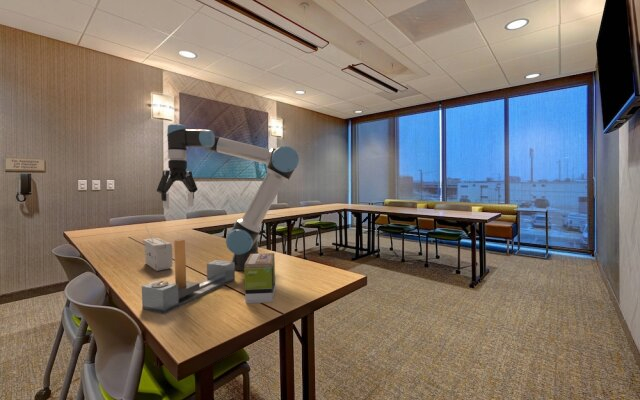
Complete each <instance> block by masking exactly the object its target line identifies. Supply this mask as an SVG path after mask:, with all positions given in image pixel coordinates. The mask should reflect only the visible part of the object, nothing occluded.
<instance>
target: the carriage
mask: <svg viewBox="0 0 640 400" xmlns="http://www.w3.org/2000/svg"><path fill="white" fill-rule="evenodd" d="M173 246H174V247H173V249H174V276H175V277H174V278H175V279H174V280H175V281H174V284H178V298H181V297H184V296H186V295H188V294H190V293H193V292H195V291H197V290H199V289H200V283H198V282H196V281H195V282H194V281H188V280H187V267H186V266H187V264H186V263H187V262H186V261H187V259H186V239H176V240H174V241H173Z"/></svg>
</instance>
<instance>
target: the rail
mask: <svg viewBox="0 0 640 400" xmlns="http://www.w3.org/2000/svg"><path fill="white" fill-rule="evenodd" d="M235 272H236V270H235V262H232V261H228V260H227V261H226V260H219V259H215V260H212V261H210V262H207V263H206V278H205V279H203V280H201V281H198V282H197V283H200V289H199V290H197V291H195V292H193V293H190V294H188V295H186V296H184V297H181V298H178V284H175V283H172V282H169V281H168V280H156V281H152V282H149V283H147V284H144V285H142V286H141V302H142V307H141V308H142V310H145V311H148V312H149V311H150V312H153V313H158V314H162V315H165V314H167V313H169V312H171V311H174V310H175V309H178V308H179V307H180V308H181V307H182V306H185V305H186V304H188V303H190V302H192V301H194V300H196V299H199V298H200V297H203V296H205V295H208V294H209V293H212V292H213V291H215V290H217V289H220V288H221V287H223V286H225V285H227V284H229V283H232V282H234V281H235V280H236V275H235V274H236V273H235Z"/></svg>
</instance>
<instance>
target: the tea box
mask: <svg viewBox="0 0 640 400" xmlns="http://www.w3.org/2000/svg"><path fill="white" fill-rule="evenodd" d="M275 258H276V257H275V252H269V253H268V252H267V253H264V252H263V253H259V254H250V256H249V258H248V259H247V261H246V263H245V264H244V270H243V271H244V298H245V303H246V304H264V302H269V303H273V302H274V296H275V293H276V292H275V291H276V266H275V265H276V264H275V263H276V262H275Z"/></svg>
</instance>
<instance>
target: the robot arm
mask: <svg viewBox="0 0 640 400" xmlns="http://www.w3.org/2000/svg"><path fill="white" fill-rule="evenodd" d="M166 136H167V155H168V156H167V157H168V161H167V163H168V169H169V170H168V169H165V170H162V176H161V178H160V182H159V183H158V185H157V189H156V192H157V193H159V194H161V202H162V208H163V209H165V210H166V209H168V210H169V209H170V200H169V199H170V195H169V193H168V192H169V190H170V188H171V187H172V186H173V184H174V183H175V182H177V181H179V182H182V183H183V185H184V186H185V188H186V189H187V191H188V192H187V206H188V207H194V204H195V203H194V199H195V193H196V192H197V191H198V186H197V183H196V181H195V179H194V177H193V172H192V171H191V170H190V171H189V170H188V171H187V169H188V162H187V159H188V158H187V157H188V156H187V153H188V152H187V148H188V147H189V148H190V147H191V148H201V149H204V150H206V151H209V152H213V153H214V152H215V153H219V154H224V155H228V156H233V157H235V158H239V159H244V160H248V161H252V162H257V163H260V164H265V165H267V166H266V171H267V172H266V175H265V176H264V179H263V180H262V182H261V183H260V186H259V187H258V189H257V191H256V193H255V194H254V196H253V199H252V200H251V201H250V204H249V206H248V207H247V209H246V211H245V212H244V215H243V216H242V218H238V219H237V220H236V221H235V222H234V224H233V227H232V229H231V230H230V232H229V233H228V234H227V235H226V239H225V245H226V247H227V249H228V250H229V251H230V252H231V253H233V255H232V259H231V262H235V271H244V264H245V263H246V261H247V259H248V258H249V256H250V254H260V253H259V237H258V236H259V234H260V232H261V229H260V226H261V224H262V222H263V220H264V219H265V217H266V214H267V213H268V212H269V210H270V208H271V206H272V204H273V203H274V201H275V199H276V197H277V196H278V193H279V192H280V190H281V189H282V186H283V185H284V183H285V182H287V181H289V180H290V178H291V177H292V175H293V173H294V171H295V169H296V168H297V167H298V165H299V161H300V157H299V154H298V152H297V151H296V149H294V148H293V147H291V146H288V145H282V146H281V145H280V146H279V147H277V148H275V147H274V148H271V149H270V148H265V147H261V146H257V145H254V144H249V143H245V142H241V141H237V140H233V139H230V138H229V139H228V138H224V137H221V136H217V135H215V134H214V131H213V130H211V129H187V127H186V125H184V124H177V123H171V124H169V125H167V134H166Z"/></svg>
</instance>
